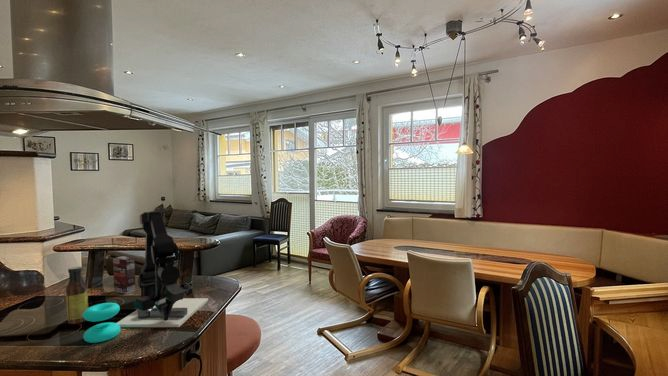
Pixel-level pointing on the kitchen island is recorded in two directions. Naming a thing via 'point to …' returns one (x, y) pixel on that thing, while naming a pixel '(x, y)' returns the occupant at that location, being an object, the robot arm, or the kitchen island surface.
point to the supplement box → (124, 274)
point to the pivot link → (155, 313)
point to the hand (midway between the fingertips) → (165, 320)
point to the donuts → (103, 329)
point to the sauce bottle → (76, 296)
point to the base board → (134, 321)
